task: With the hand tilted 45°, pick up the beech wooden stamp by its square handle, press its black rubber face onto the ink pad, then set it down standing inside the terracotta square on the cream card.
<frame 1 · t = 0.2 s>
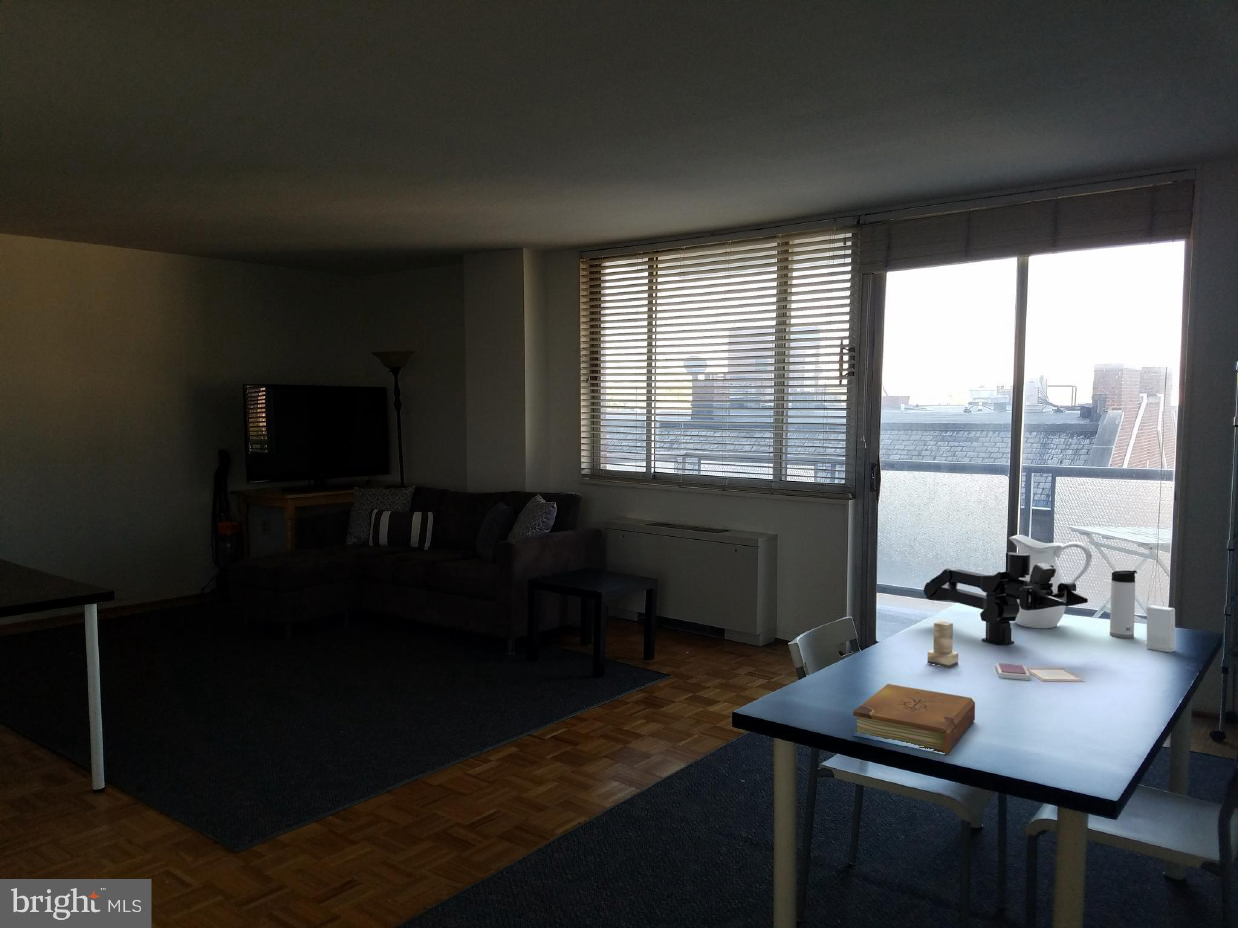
hand: (1075, 602, 230), 17 cm above the table, tool horizontal, fingers open, 9 cm apart
diary: (915, 731, 182), on the table
ink pad: (1012, 673, 222), on the table
travel mug: (1122, 636, 261), on the table
marked card: (1053, 675, 221), on the table
pitcher: (1047, 627, 274), on the table
stamp: (942, 663, 231), on the table
skincare box: (1160, 650, 246), on the table
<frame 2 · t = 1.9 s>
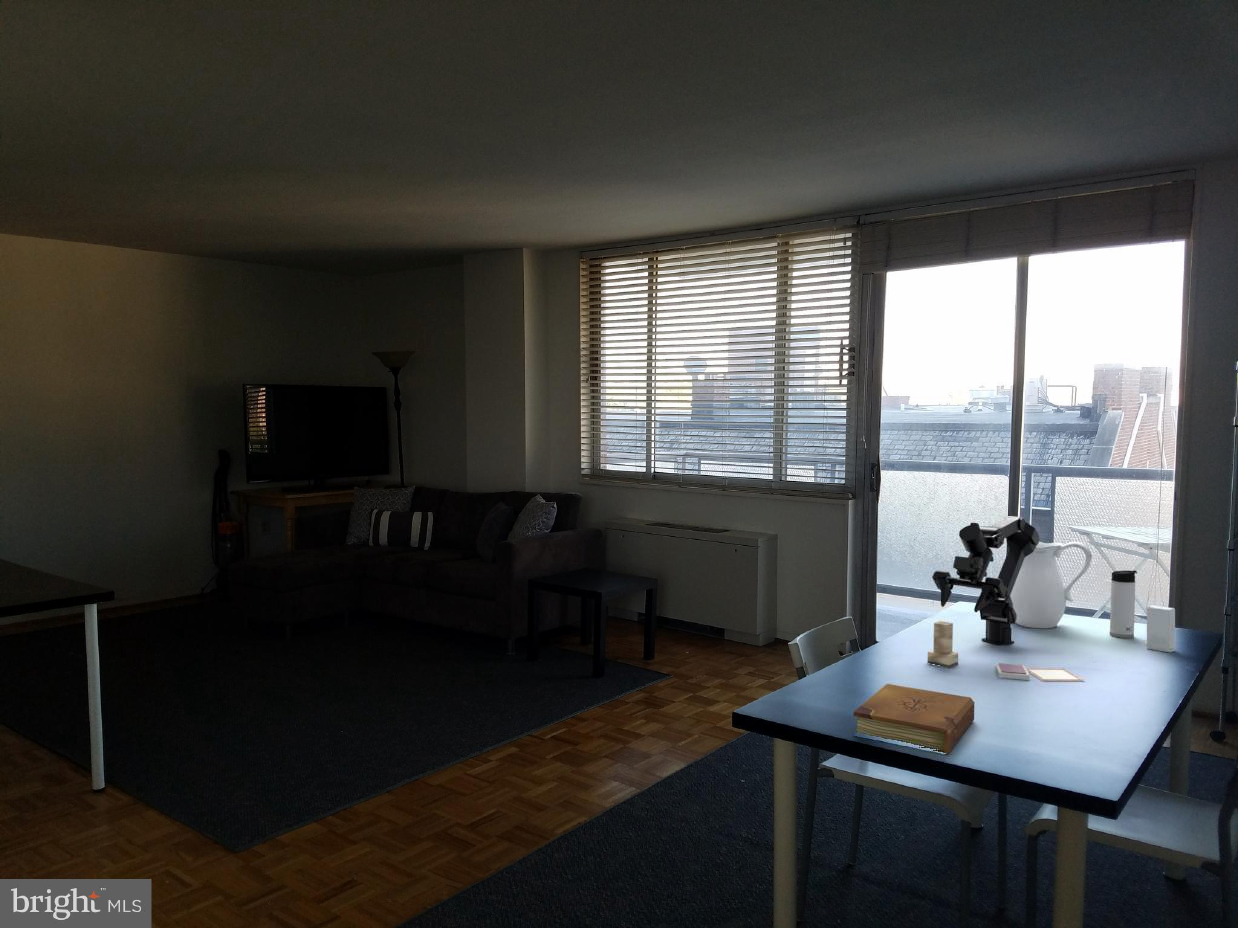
hand: (958, 608, 235), 14 cm above the table, tool tilted 45°, fingers open, 9 cm apart
nothing on the table moved.
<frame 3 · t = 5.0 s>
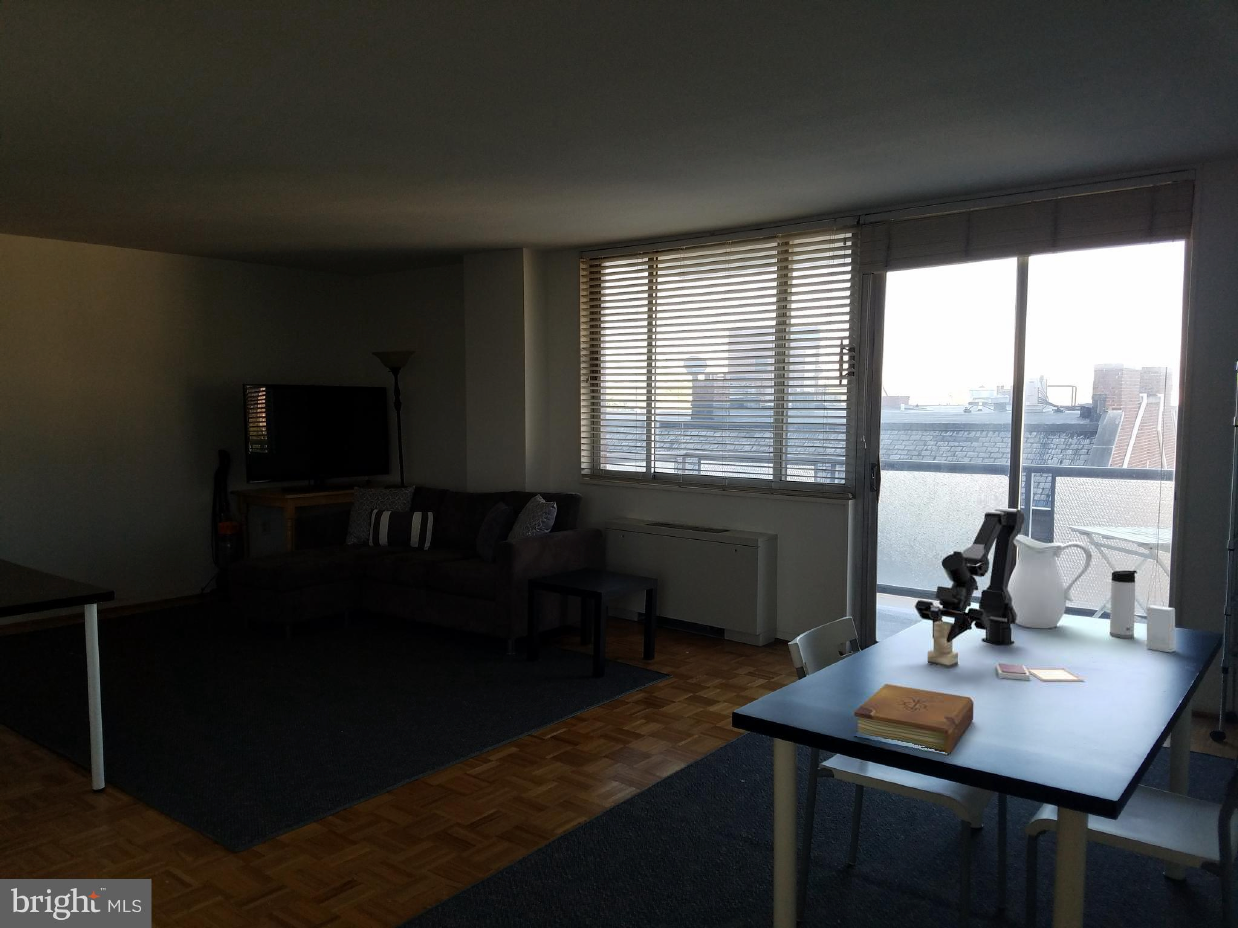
hand: (940, 640, 230), 7 cm above the table, tool tilted 45°, fingers closed on stamp, 3 cm apart
stamp: (942, 663, 231), on the table, touching gripper
everything else where it was.
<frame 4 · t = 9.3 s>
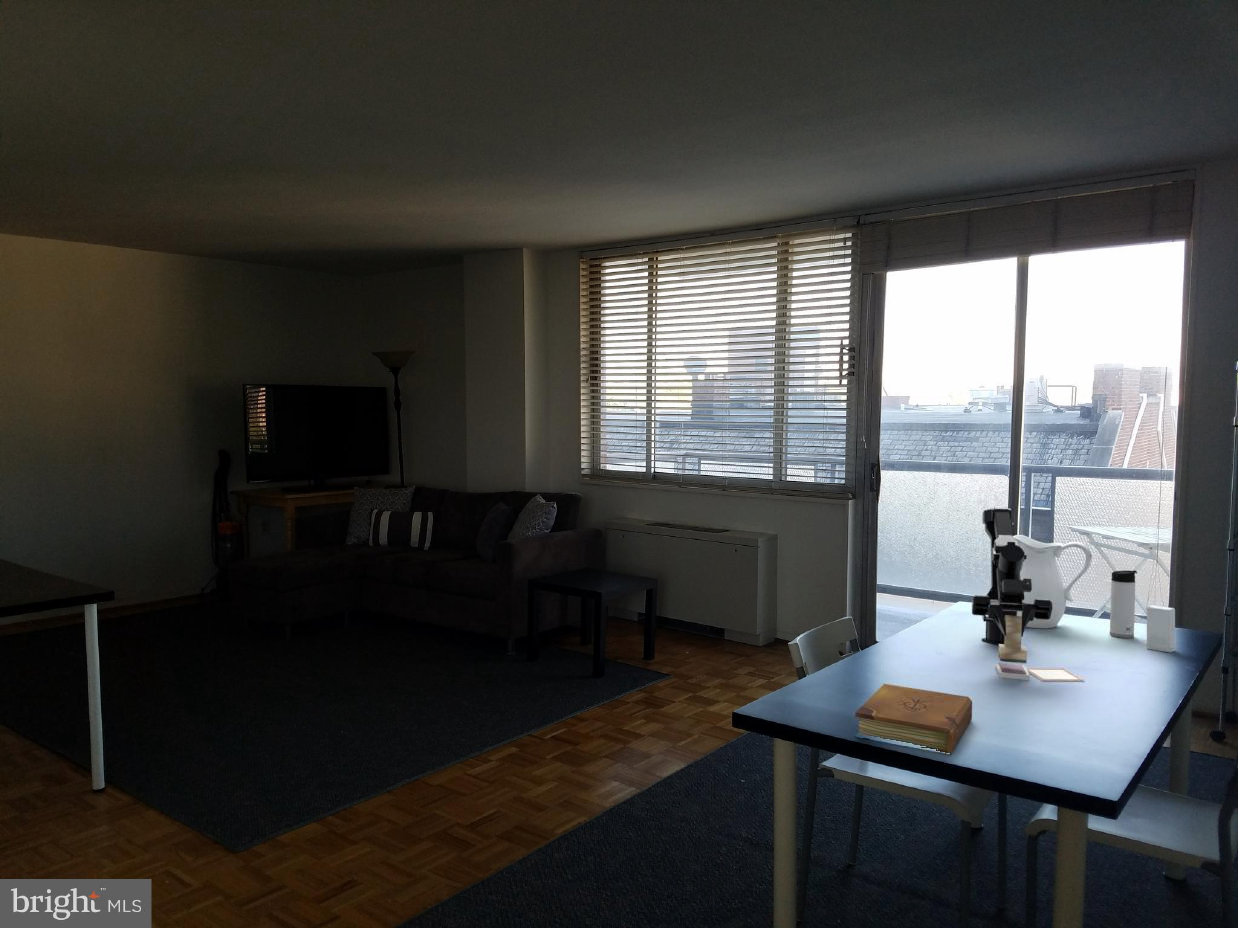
hand: (1013, 635, 220), 10 cm above the table, tool tilted 45°, fingers closed on stamp, 3 cm apart
stamp: (1012, 659, 222), point 4 cm above the table, touching gripper
everything else where it was.
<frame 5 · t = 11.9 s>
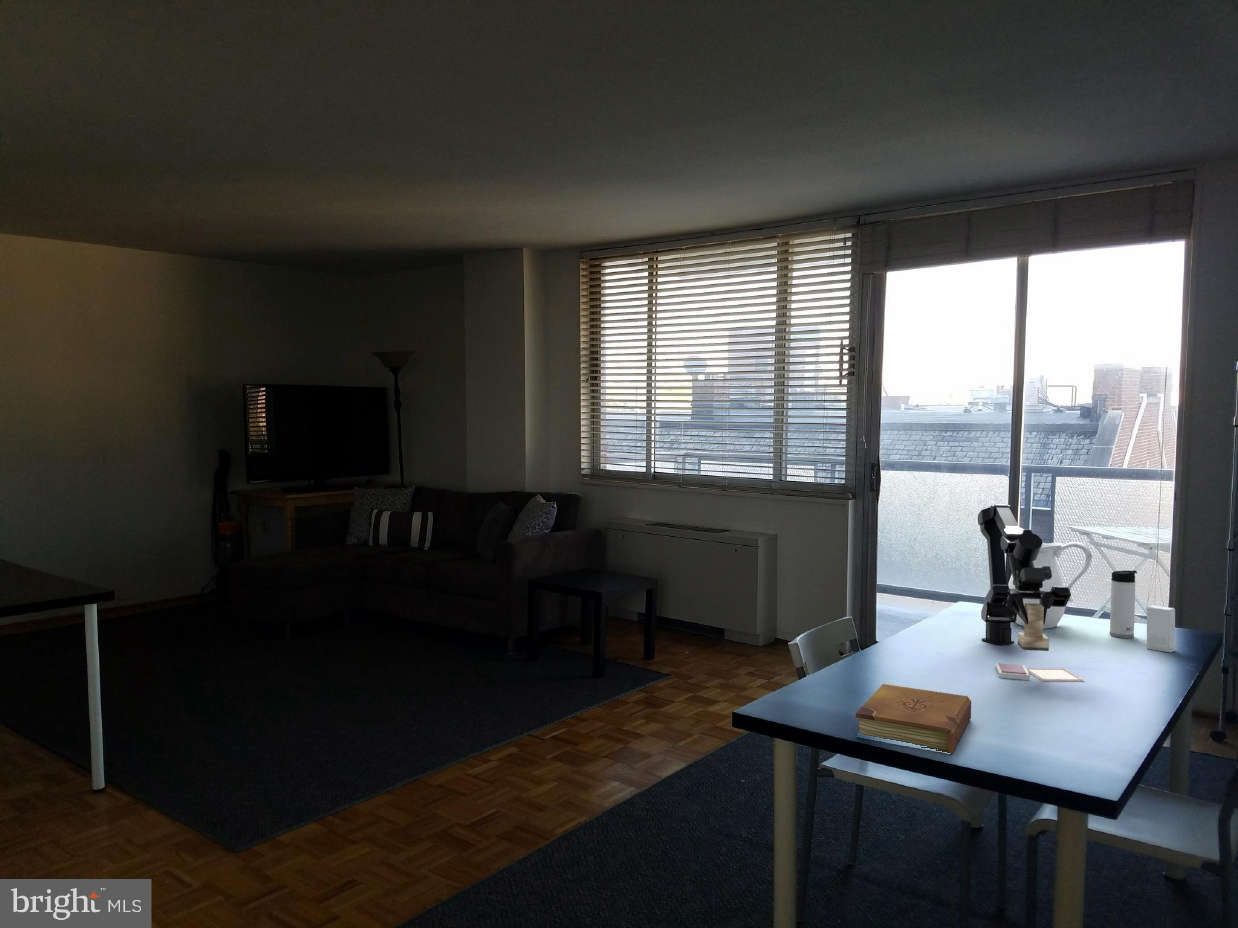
hand: (1035, 623, 219), 13 cm above the table, tool tilted 45°, fingers closed on stamp, 3 cm apart
stamp: (1032, 647, 221), point 7 cm above the table, touching gripper
everything else where it was.
when the fingers open (8 cm above the table, at t = 13.9 s): stamp drops 1 cm, resting on marked card.
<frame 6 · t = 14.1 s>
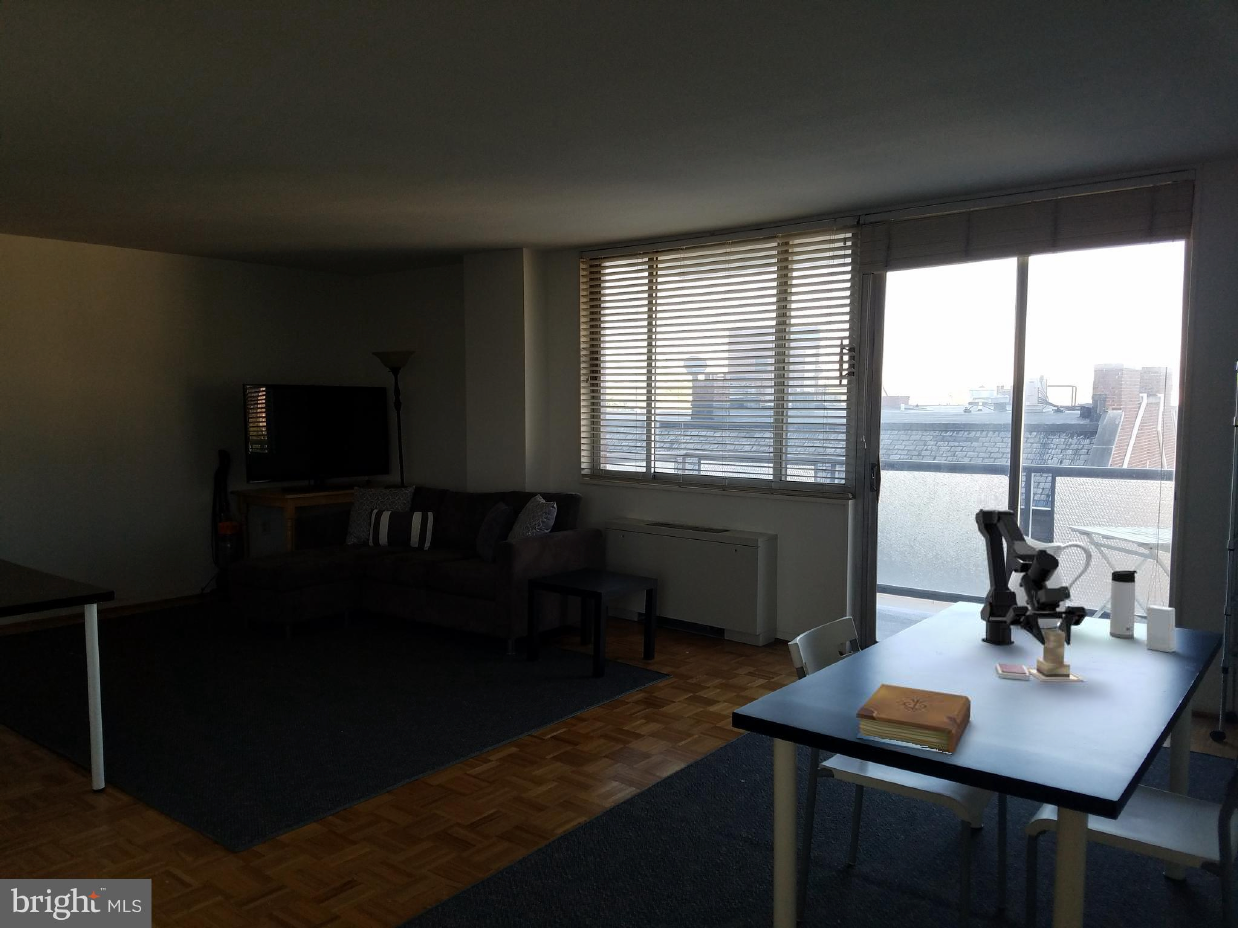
hand: (1056, 644, 219), 8 cm above the table, tool tilted 45°, fingers open, 6 cm apart
stamp: (1052, 673, 221), resting on marked card
everything else where it was.
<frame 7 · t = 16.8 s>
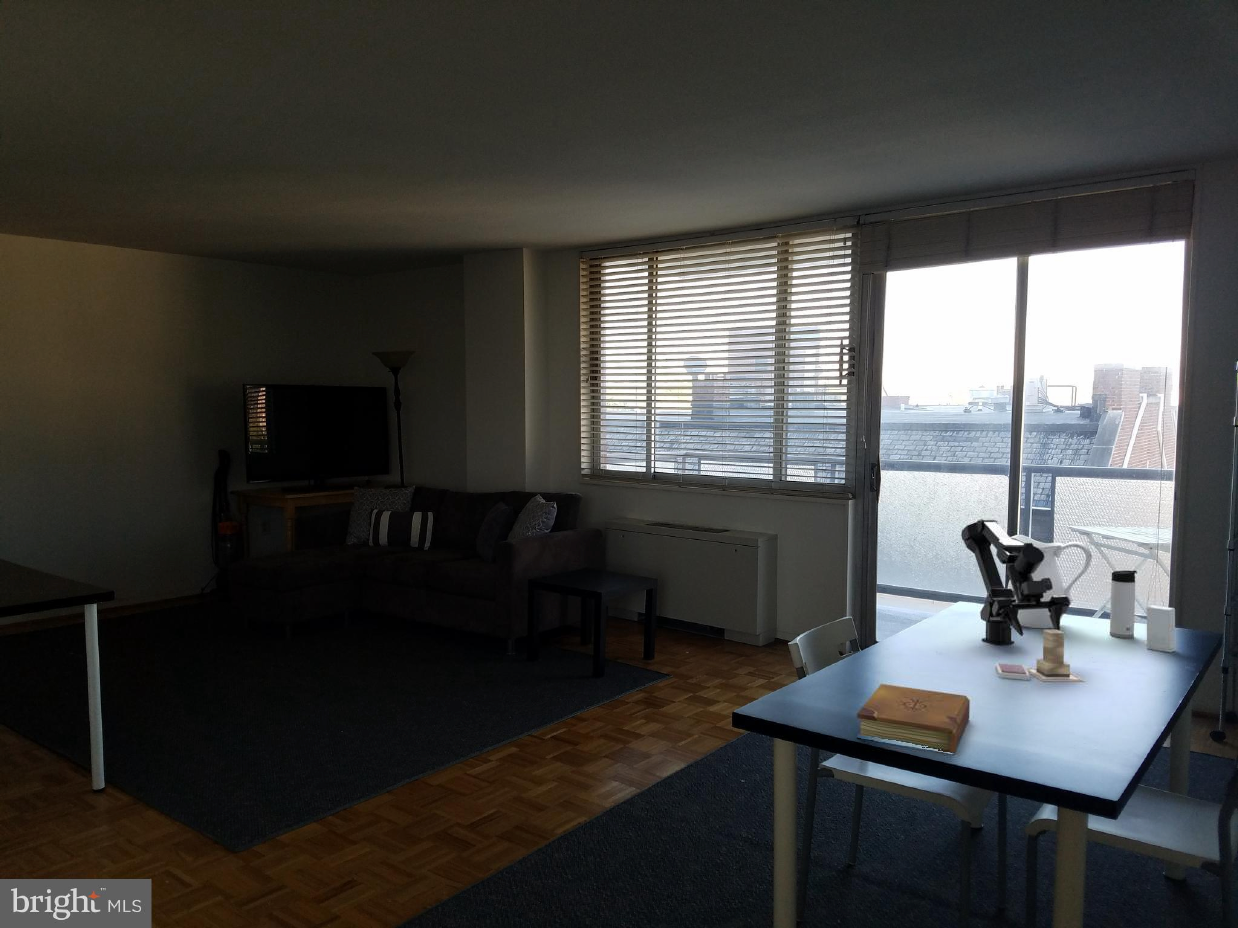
hand: (1040, 634, 228), 8 cm above the table, tool tilted 40°, fingers open, 9 cm apart
nothing on the table moved.
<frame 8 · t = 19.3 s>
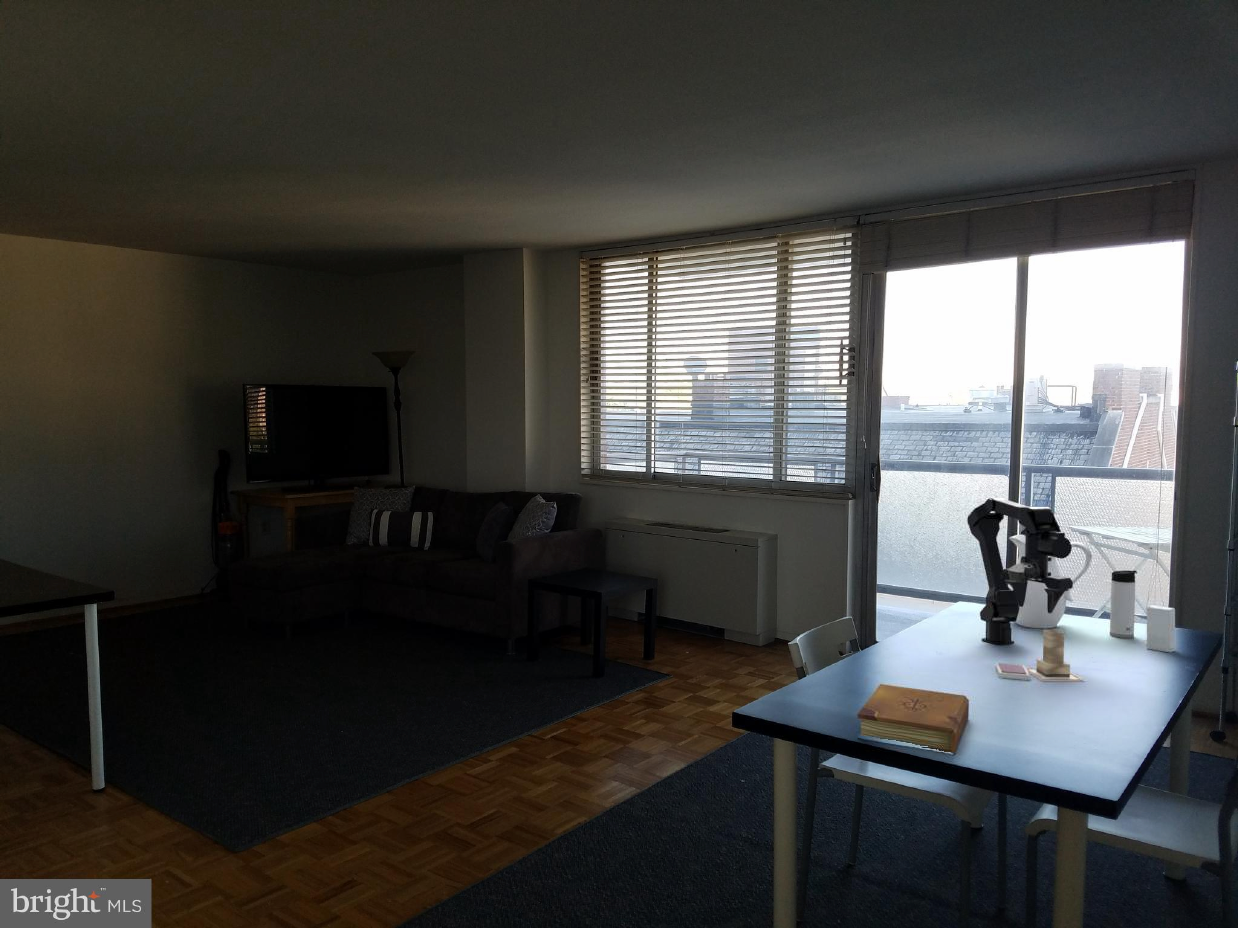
hand: (1035, 609, 237), 13 cm above the table, tool pointing down, fingers open, 9 cm apart
nothing on the table moved.
at the end: stamp 0.2 cm off-centre on the marked card, point 0.2 cm above the marked card's base; stamp tilted 0°; the gripper is holding nothing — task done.
